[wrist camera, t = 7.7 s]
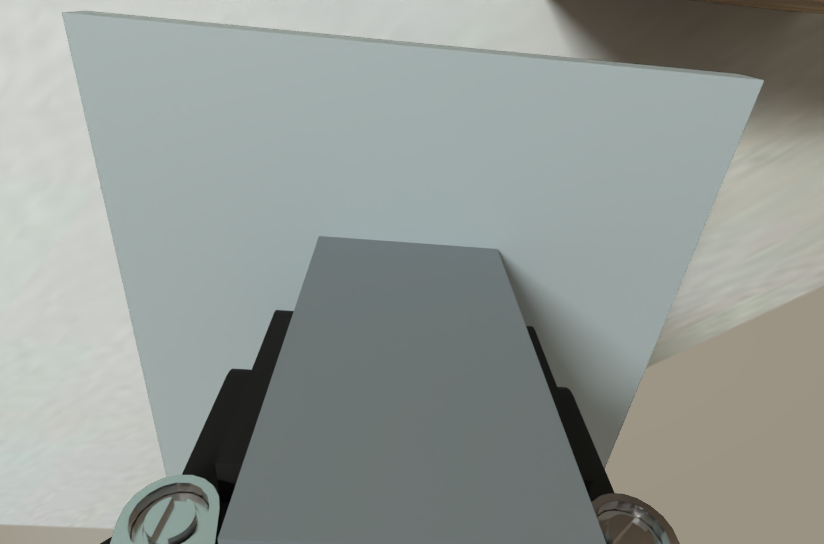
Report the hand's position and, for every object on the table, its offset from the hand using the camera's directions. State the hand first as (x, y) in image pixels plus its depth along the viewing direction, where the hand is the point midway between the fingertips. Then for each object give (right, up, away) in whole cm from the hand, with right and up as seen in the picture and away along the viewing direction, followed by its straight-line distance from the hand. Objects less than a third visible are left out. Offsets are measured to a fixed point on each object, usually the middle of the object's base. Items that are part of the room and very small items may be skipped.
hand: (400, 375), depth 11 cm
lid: (0, +2, +3) cm, 3 cm away
